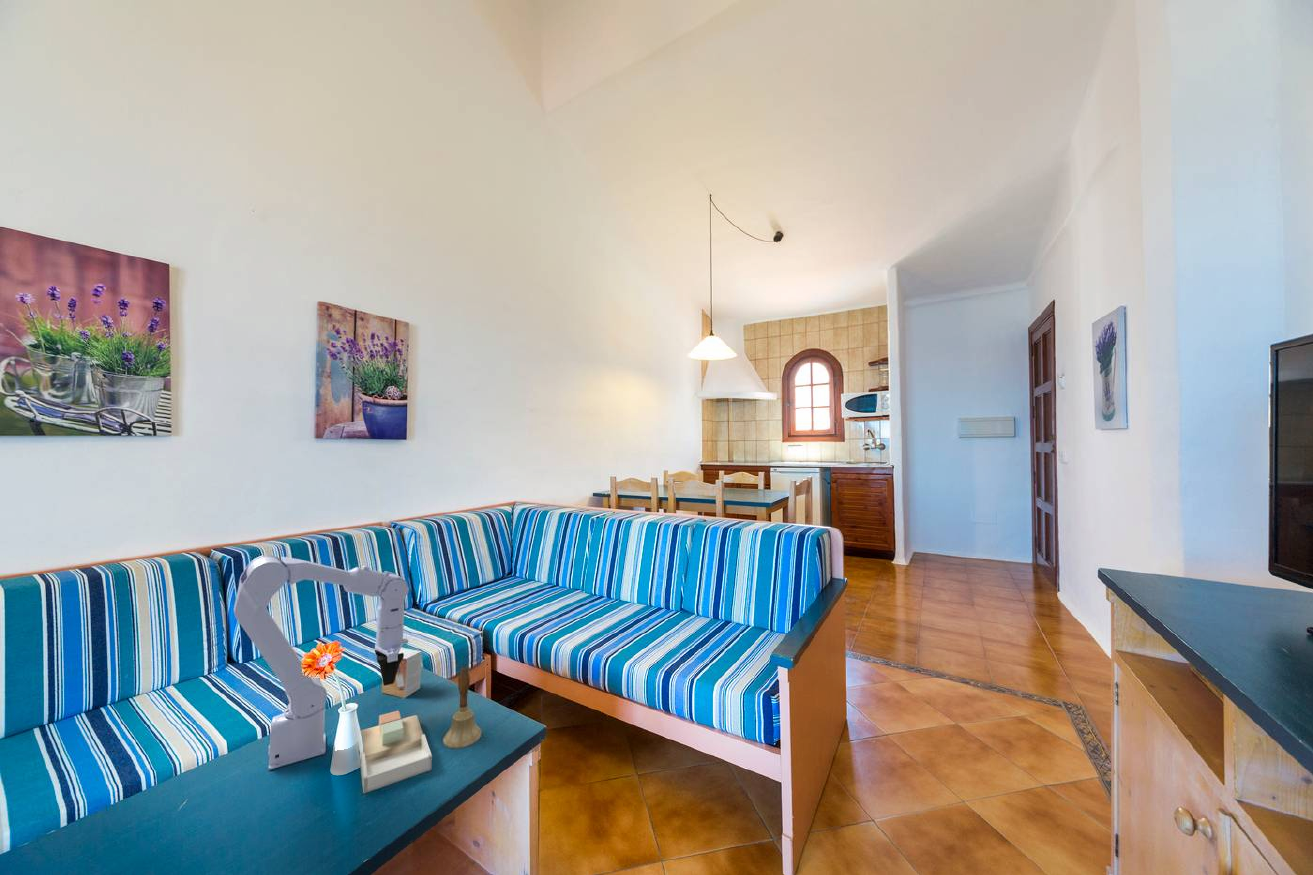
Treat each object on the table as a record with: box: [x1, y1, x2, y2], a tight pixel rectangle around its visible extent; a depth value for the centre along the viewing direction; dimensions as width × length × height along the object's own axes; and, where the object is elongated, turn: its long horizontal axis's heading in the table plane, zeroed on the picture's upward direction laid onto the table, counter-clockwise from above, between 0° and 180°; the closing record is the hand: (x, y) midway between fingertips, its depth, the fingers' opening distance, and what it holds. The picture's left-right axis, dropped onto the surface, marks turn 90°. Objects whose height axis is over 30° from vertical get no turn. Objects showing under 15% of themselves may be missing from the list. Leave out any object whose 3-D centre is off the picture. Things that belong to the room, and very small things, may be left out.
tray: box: [360, 733, 433, 794], centre depth 95 cm, size 12×9×3 cm
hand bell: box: [442, 666, 483, 749], centre depth 106 cm, size 8×8×16 cm
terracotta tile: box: [378, 710, 402, 735], centre depth 106 cm, size 4×4×2 cm
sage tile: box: [381, 720, 404, 746], centre depth 102 cm, size 4×4×2 cm
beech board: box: [360, 714, 424, 763], centre depth 103 cm, size 12×11×2 cm
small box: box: [381, 646, 423, 699], centre depth 126 cm, size 8×6×10 cm
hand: (387, 680), depth 112 cm, fingers open, 3 cm apart
